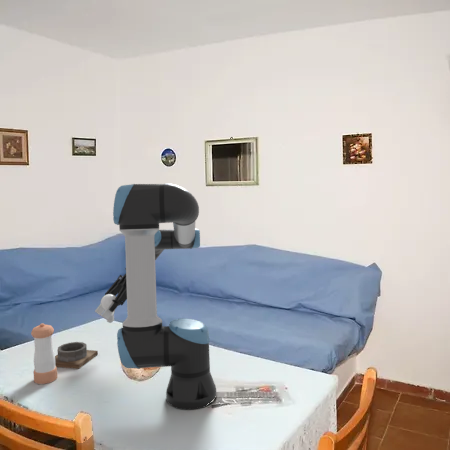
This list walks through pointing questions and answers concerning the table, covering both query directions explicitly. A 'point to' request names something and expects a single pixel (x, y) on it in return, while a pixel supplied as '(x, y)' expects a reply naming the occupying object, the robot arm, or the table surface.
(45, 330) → the salt shaker
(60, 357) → the grey bowl on board
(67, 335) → the table surface
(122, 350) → the robot arm
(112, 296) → the lightbulb
